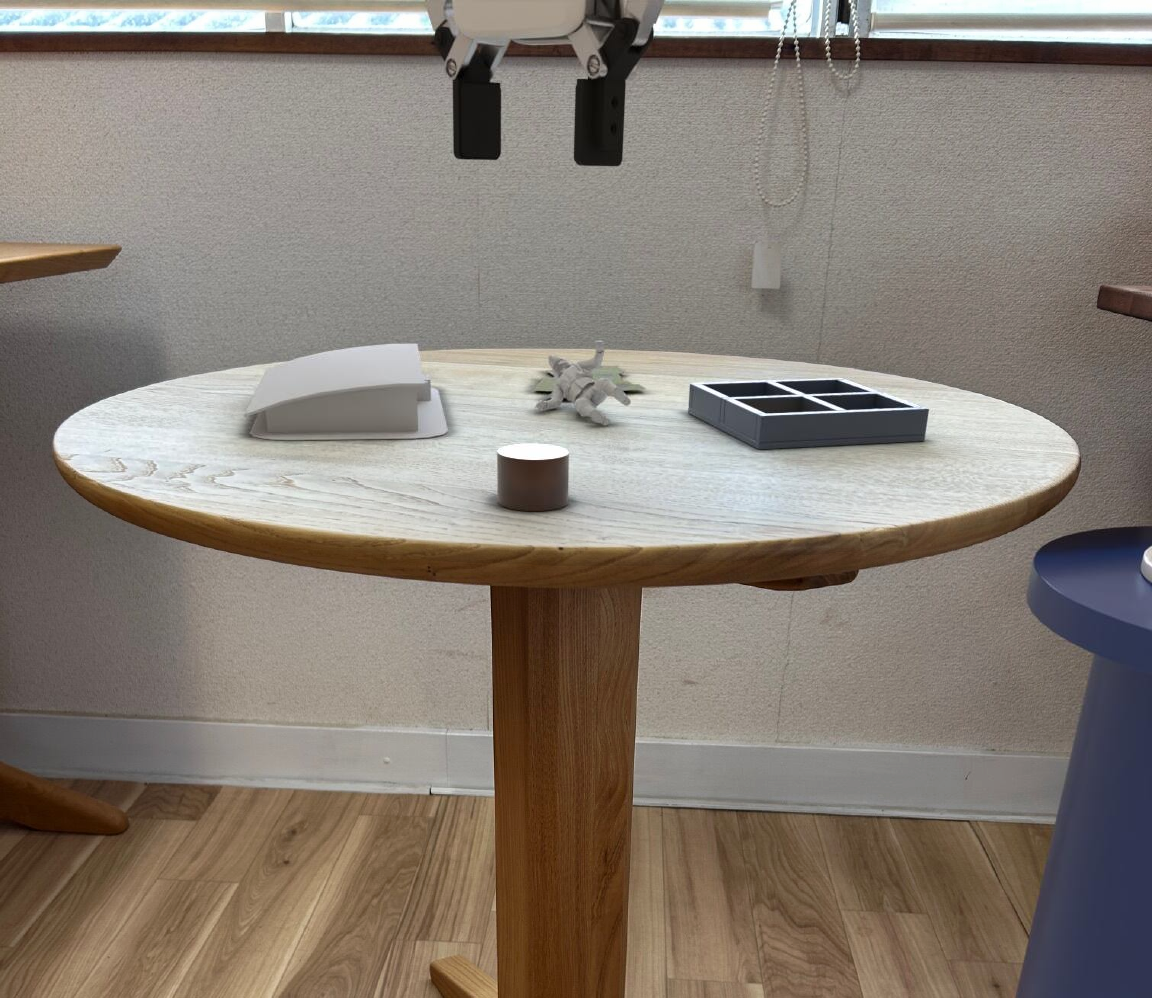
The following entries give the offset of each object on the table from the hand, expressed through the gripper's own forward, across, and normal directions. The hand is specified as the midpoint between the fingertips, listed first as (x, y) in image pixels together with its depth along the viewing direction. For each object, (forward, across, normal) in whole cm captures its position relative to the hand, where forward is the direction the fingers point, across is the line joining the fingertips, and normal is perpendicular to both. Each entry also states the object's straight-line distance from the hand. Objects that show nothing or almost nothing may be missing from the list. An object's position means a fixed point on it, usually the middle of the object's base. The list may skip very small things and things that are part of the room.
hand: (535, 162), depth 69 cm
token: (+19, 0, 0) cm, 19 cm away
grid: (+19, +3, -34) cm, 39 cm away
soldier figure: (+20, +18, -24) cm, 36 cm away
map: (+20, +27, -34) cm, 48 cm away
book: (+20, +32, -10) cm, 39 cm away
